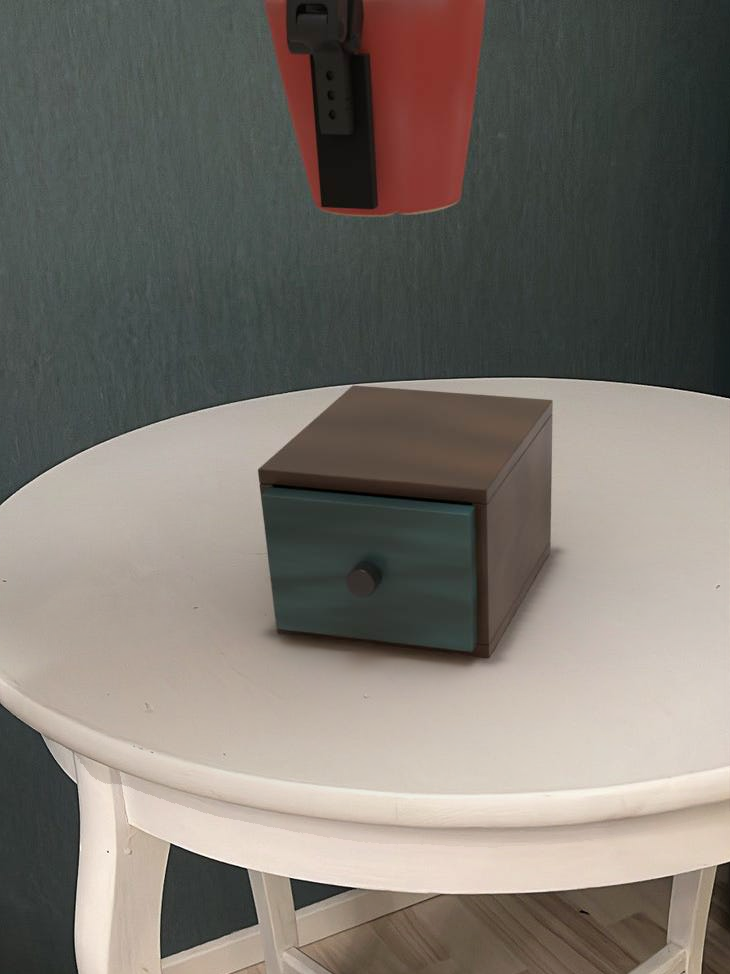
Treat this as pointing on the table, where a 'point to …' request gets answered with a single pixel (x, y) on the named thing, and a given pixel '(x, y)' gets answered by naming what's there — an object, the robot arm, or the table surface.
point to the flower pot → (401, 99)
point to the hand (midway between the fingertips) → (385, 185)
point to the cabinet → (440, 477)
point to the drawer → (373, 566)
